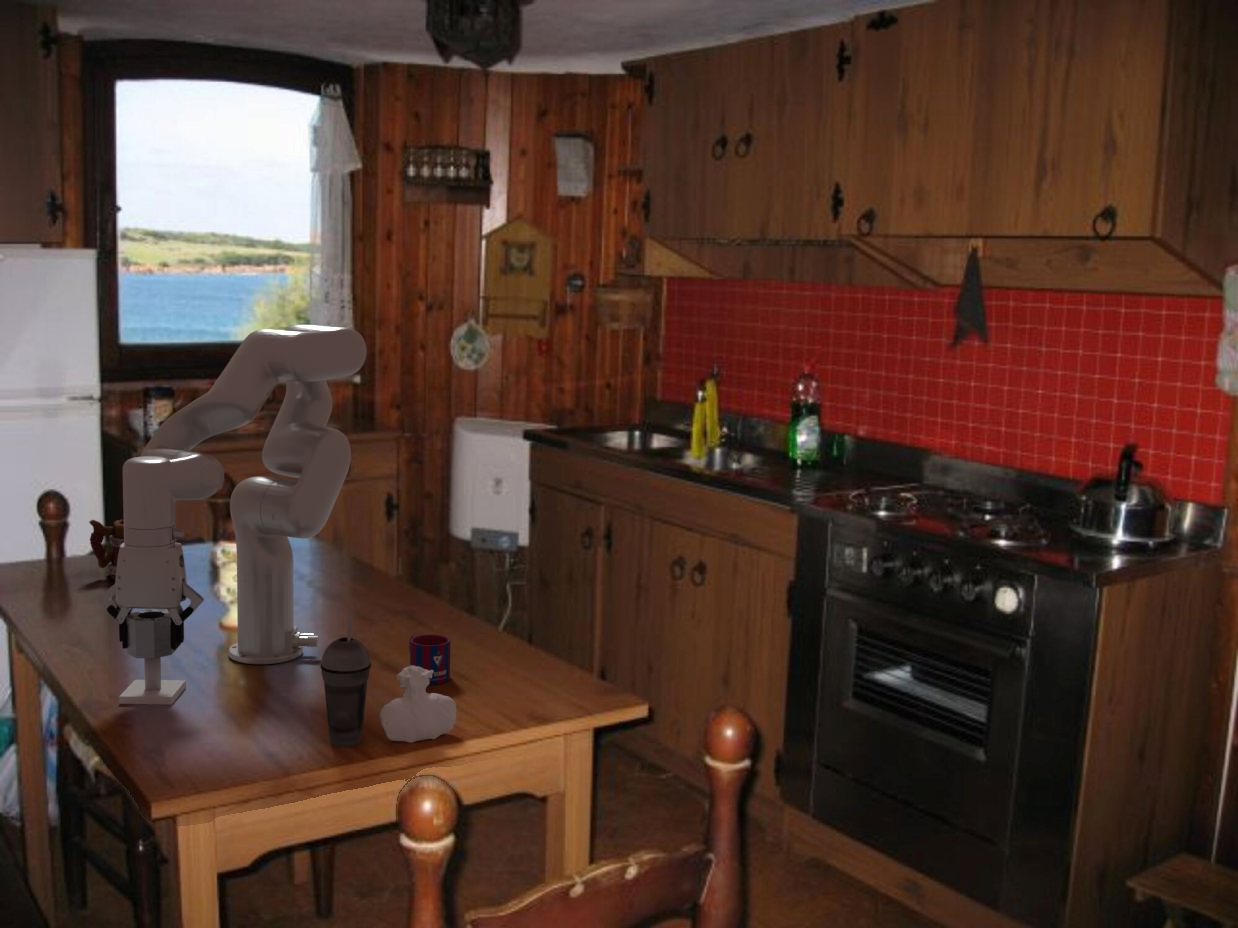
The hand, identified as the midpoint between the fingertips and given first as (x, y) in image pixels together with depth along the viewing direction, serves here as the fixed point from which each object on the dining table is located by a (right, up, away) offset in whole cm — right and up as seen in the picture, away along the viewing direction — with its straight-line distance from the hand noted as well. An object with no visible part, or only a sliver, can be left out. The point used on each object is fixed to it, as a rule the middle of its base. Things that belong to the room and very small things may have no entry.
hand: (152, 645), depth 203 cm
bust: (+43, -12, -11) cm, 46 cm away
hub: (0, -1, 0) cm, 1 cm away
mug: (-31, +4, +73) cm, 79 cm away
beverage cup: (+34, -12, -14) cm, 38 cm away
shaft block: (0, -8, +1) cm, 8 cm away
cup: (+41, -8, +16) cm, 44 cm away
